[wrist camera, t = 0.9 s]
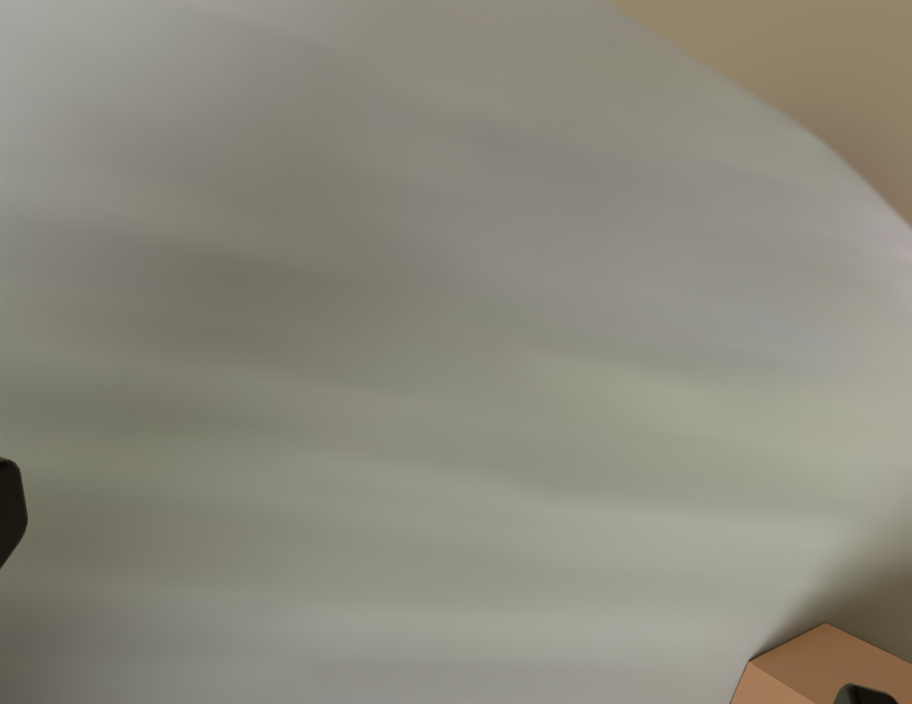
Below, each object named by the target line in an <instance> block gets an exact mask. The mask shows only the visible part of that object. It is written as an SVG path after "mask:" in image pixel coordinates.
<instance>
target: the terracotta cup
mask: <svg viewBox="0 0 912 704" xmlns="http://www.w3.org/2000/svg"><path fill="white" fill-rule="evenodd" d="M847 683H854V684H858V685H862V686H866V687H869V688H873V689H877V690H881V691H884V692H886V693H888V694H890V695H891V696H892V697H894V698H895V699H896V701H897V702H898V703H899V704H912V664H911V663H909V662H907V661H905V660H903V659H901V658H899V657H897V656H895V655H893V654H890V653H888V652H886V651H884V650H882V649H880V648H878V647H875V646H873V645H871V644H869V643H867V642H865V641H863V640H861V639H859V638H857V637H854V636H852V635H850V634H848V633H846V632H844V631H842V630H840V629H838V628H836V627H834V626H832V625H830V624H828V623H824V624H822V625H820V626H818V627H816V628H814V629H812V630H810V631H808V632H806V633H804V634H802V635H800V636H798V637H796V638H794V639H792V640H790V641H788V642H786V643H784V644H782V645H781V646H779V647H777V648H775V649H773V650H771V651H769V652H767V653H765V654H763V655H761V656H759V657H757V658H755V659H753V660H751V661H749V662H748V664H747V666H746V669H745V671H744V673H743V676H742V678H741V680H740V682H739V685H738V687H737V689H736V692H735V694H734V696H733V699H732V701H731V703H730V704H833V702H834V700H835V697H836V695H837V693H838V691H839V690H840V688H841V687H842V686H843V685H844V684H847Z"/></svg>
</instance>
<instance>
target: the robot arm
mask: <svg viewBox="0 0 912 704" xmlns="http://www.w3.org/2000/svg"><path fill="white" fill-rule="evenodd" d="M27 522H28V514H27V508H26V502H25V496H24V490H23V484H22V478H21V472H20V469H19V467H18V466H17V464H16V463H15V462H13V461H12V460H9V459H5V458H2V457H0V569H1V568H2V566H3V565H4V563H5V562H6V561H7V559H8V558H9V556H10V555H11V553H12V552H13V551H14V549H15V548H16V546H17V545H18V544H19V542H20V541H21V539H22V537H23V535H24V533H25V531H26V527H27ZM833 704H899V703H898V702H897V701H896V699H895V698H894V697H892V696H891V695H890V694H888V693H886V692H884V691H881V690H877V689H873V688H869V687H866V686H862V685H858V684H854V683H847V684H844V685H843V686H842V687H841V688H840V690H839V691H838V693H837V695H836V697H835V700H834V702H833Z"/></svg>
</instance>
